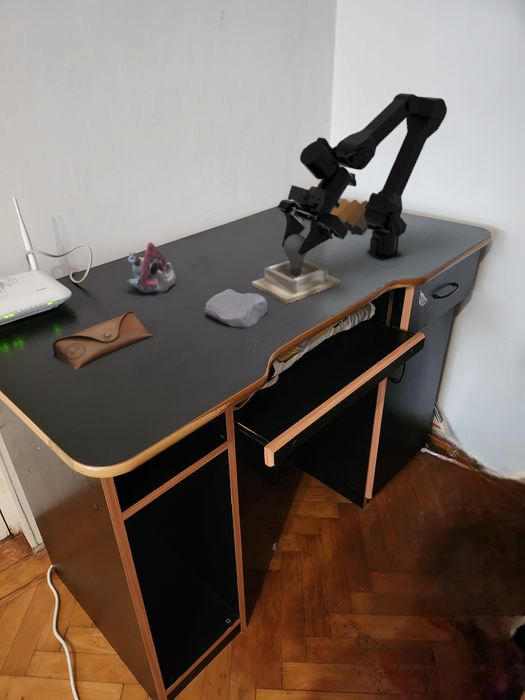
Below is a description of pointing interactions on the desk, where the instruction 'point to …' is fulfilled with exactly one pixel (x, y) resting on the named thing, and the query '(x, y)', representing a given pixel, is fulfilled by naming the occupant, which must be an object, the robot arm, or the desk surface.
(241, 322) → the stone block
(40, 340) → the desk surface
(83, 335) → the sunglasses case
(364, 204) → the pan flute
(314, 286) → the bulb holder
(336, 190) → the robot arm
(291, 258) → the light bulb
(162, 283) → the grey and pink figurine
